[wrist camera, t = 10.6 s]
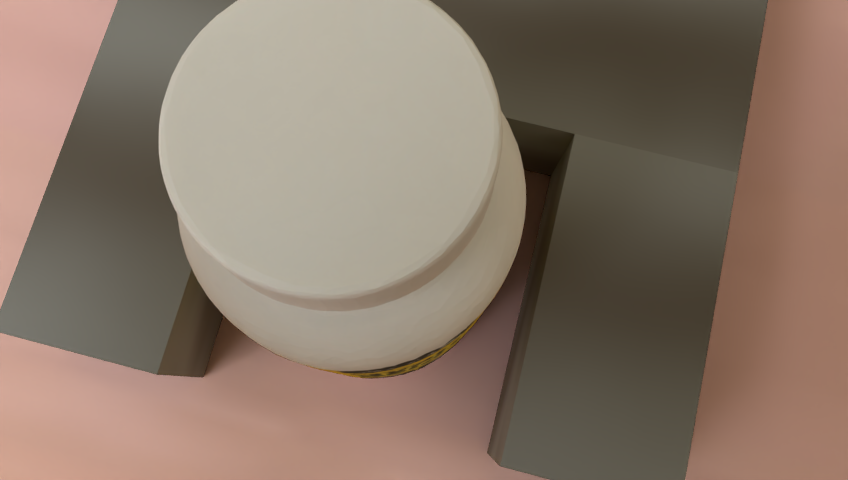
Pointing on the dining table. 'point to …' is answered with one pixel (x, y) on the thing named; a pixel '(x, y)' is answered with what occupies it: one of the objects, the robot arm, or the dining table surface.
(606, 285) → the notched board
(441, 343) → the supplement bottle
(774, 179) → the dining table surface
